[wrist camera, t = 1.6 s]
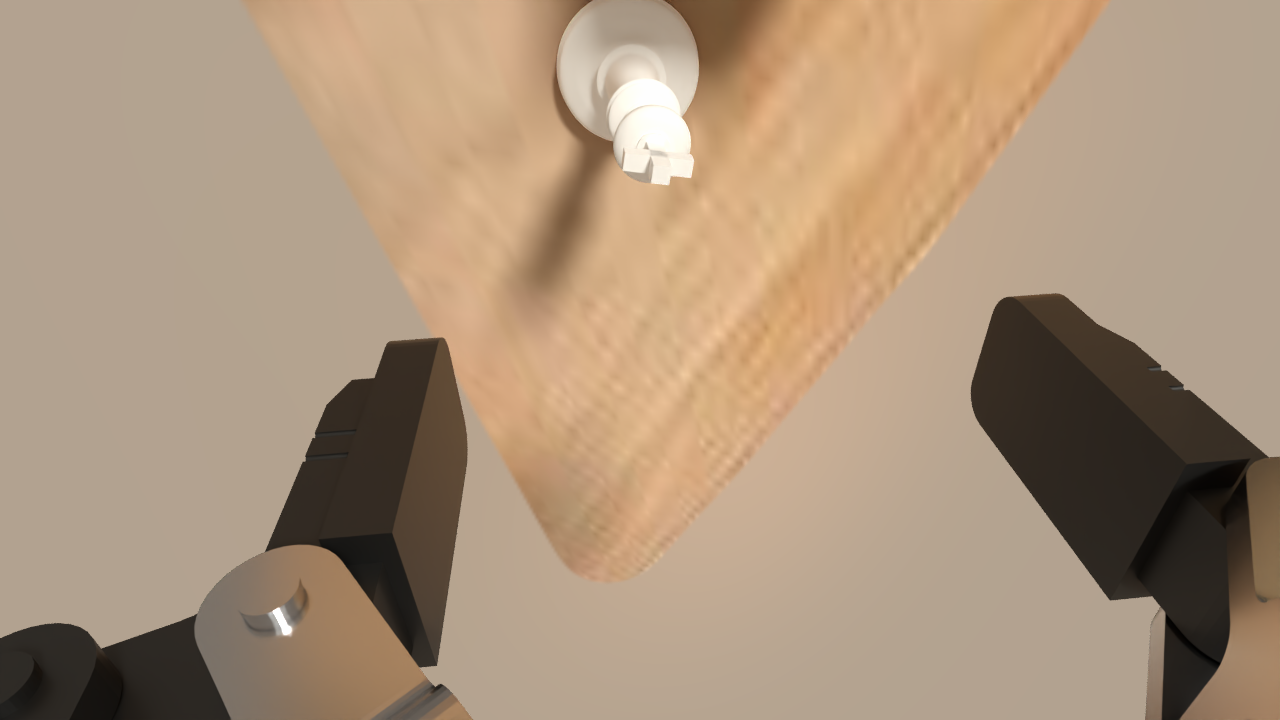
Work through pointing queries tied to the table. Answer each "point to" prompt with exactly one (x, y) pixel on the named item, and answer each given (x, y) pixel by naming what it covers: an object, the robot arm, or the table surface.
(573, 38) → the chess piece
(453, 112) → the table surface
